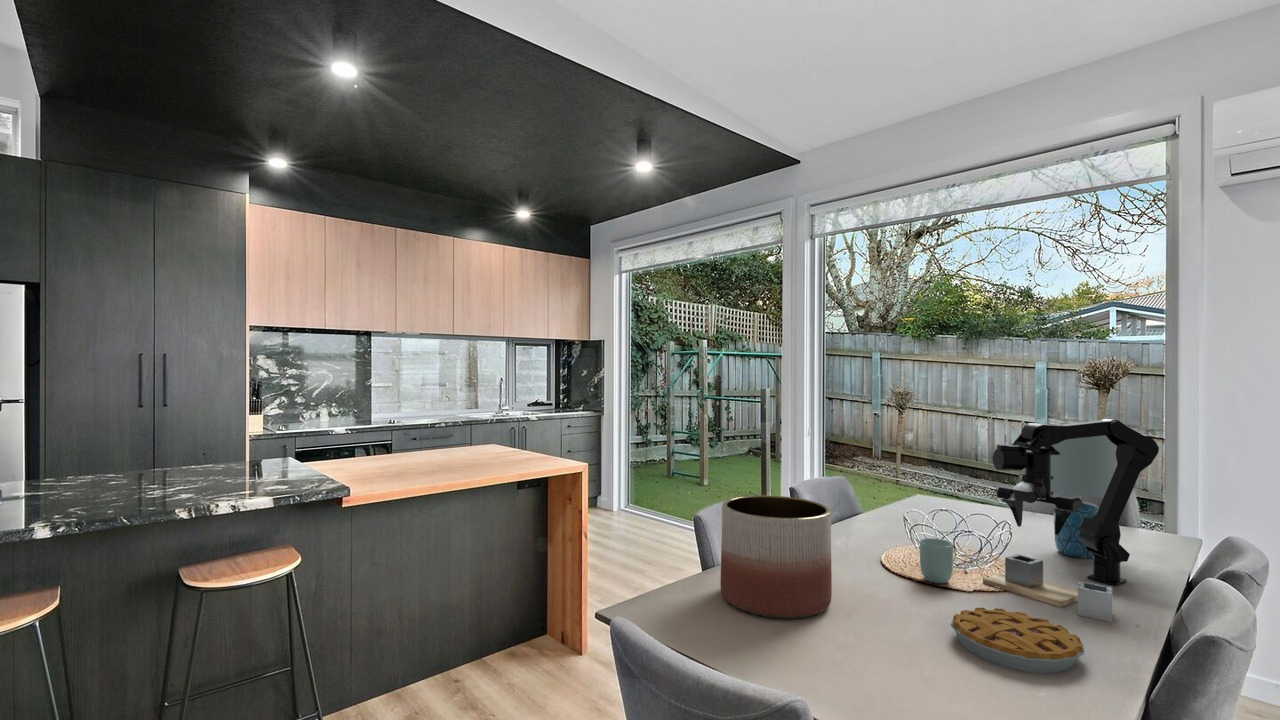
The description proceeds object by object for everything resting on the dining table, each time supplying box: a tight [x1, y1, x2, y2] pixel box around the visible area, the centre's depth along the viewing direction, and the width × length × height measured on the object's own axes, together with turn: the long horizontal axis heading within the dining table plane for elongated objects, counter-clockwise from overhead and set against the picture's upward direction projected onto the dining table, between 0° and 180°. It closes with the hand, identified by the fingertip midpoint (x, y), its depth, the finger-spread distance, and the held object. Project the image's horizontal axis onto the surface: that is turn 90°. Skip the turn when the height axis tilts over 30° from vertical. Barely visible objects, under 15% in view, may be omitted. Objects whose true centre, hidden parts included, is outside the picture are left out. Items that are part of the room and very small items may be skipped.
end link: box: [1004, 553, 1044, 589], centre depth 152 cm, size 6×6×6 cm
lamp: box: [1041, 435, 1117, 559], centre depth 181 cm, size 19×19×38 cm
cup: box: [919, 537, 954, 584], centre depth 156 cm, size 8×8×10 cm
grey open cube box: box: [1077, 580, 1113, 623], centre depth 136 cm, size 6×6×6 cm
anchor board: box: [982, 571, 1078, 608], centre depth 150 cm, size 12×18×6 cm, turn 31°
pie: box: [950, 607, 1085, 674], centre depth 118 cm, size 22×22×5 cm
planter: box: [720, 494, 833, 619], centre depth 142 cm, size 25×25×22 cm
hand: (1037, 530), depth 160 cm, fingers open, 9 cm apart
